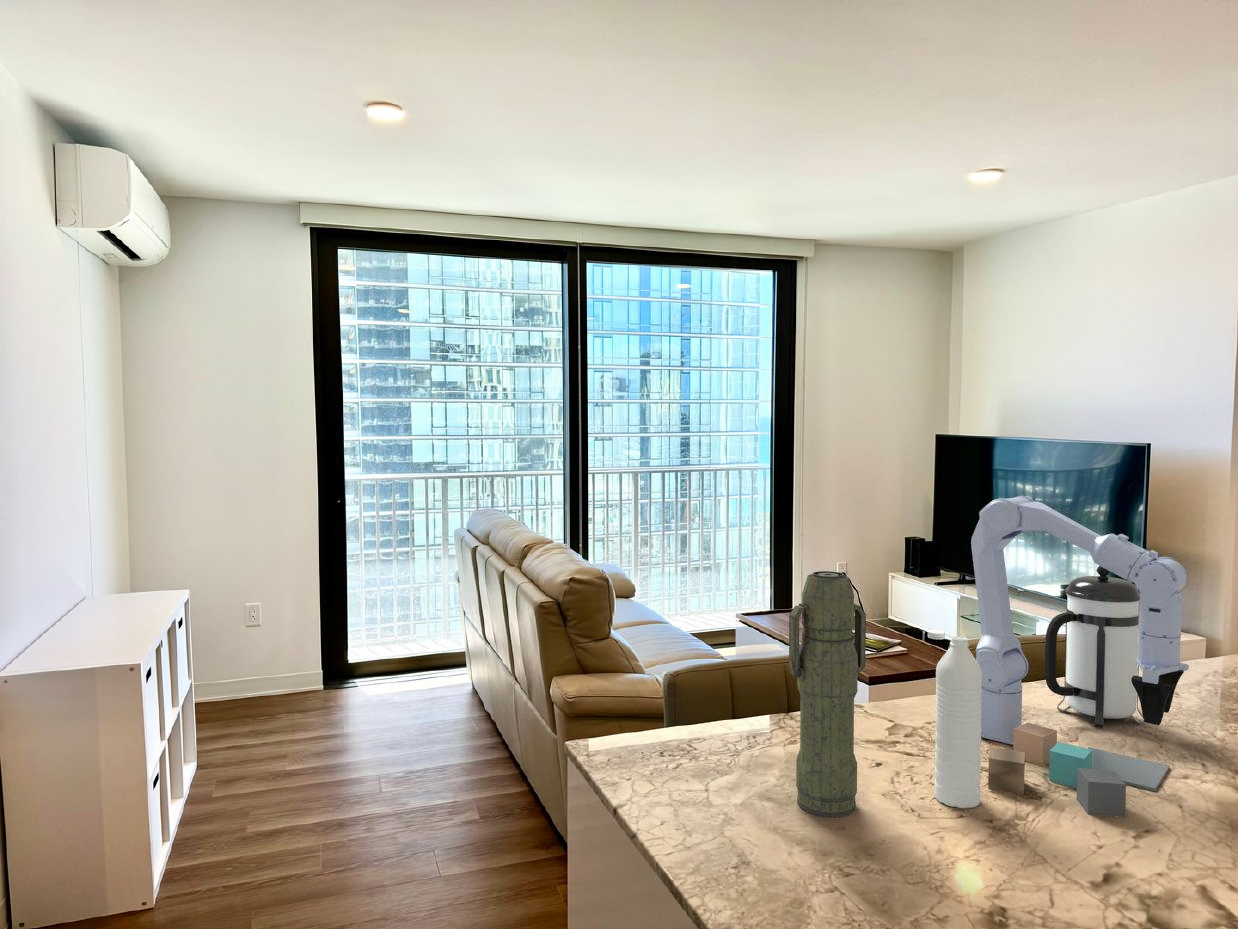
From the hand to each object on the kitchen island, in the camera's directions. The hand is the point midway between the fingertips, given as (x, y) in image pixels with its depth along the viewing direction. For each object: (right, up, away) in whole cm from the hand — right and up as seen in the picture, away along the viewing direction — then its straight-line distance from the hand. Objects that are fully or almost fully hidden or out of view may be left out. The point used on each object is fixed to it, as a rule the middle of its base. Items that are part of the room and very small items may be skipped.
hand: (1156, 717), depth 134 cm
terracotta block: (-15, -10, +9) cm, 20 cm away
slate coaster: (-4, -10, +4) cm, 11 cm away
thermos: (-55, -11, -9) cm, 57 cm away
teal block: (-14, -10, 0) cm, 17 cm away
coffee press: (+6, -9, +28) cm, 30 cm away
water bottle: (-36, -11, -6) cm, 38 cm away
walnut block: (-25, -10, -2) cm, 27 cm away
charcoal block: (-15, -11, -10) cm, 21 cm away
